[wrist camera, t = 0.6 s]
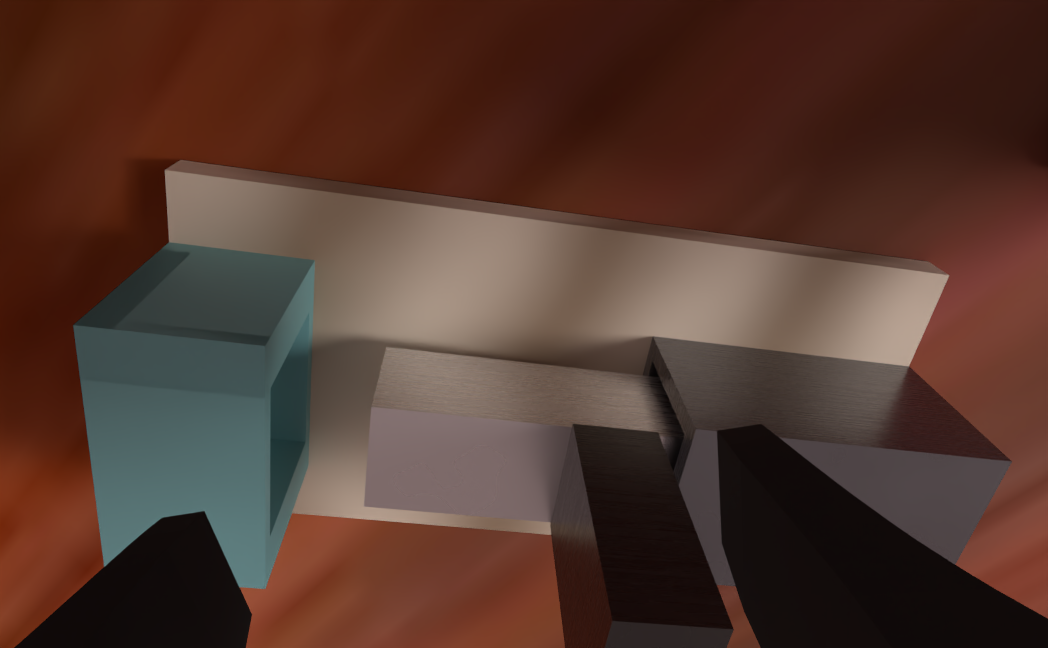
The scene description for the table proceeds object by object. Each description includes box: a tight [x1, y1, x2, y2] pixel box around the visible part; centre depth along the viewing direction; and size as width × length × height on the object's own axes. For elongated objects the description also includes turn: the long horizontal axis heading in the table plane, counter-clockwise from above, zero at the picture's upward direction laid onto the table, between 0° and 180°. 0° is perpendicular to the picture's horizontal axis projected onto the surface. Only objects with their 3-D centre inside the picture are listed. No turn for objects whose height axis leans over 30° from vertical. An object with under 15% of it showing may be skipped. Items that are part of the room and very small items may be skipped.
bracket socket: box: [73, 242, 315, 589], centre depth 17 cm, size 4×6×5 cm, turn 171°
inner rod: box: [364, 347, 734, 648], centre depth 16 cm, size 14×3×8 cm, turn 81°
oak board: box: [165, 160, 949, 535], centre depth 21 cm, size 20×10×1 cm, turn 81°
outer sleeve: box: [643, 336, 1012, 586], centre depth 19 cm, size 8×4×4 cm, turn 81°
